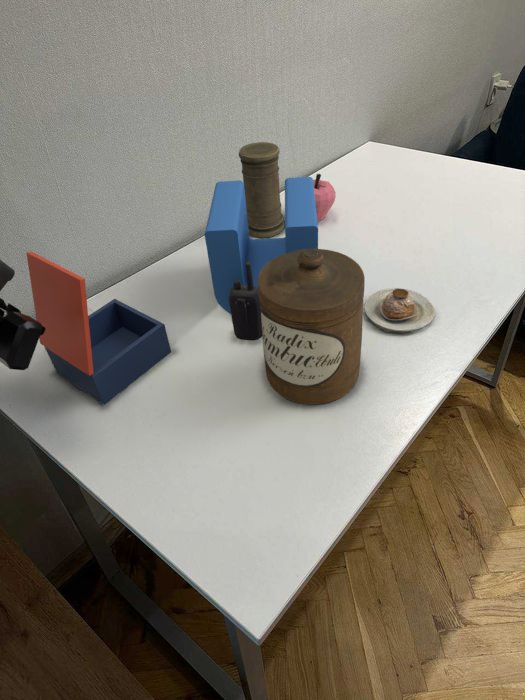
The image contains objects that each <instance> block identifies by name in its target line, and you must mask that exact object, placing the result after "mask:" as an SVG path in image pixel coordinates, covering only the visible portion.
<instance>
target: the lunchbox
mask: <svg viewBox="0 0 525 700" xmlns="http://www.w3.org/2000/svg"><path fill="white" fill-rule="evenodd" d="M88 319H89V329H90V340H91V351H92V362H93V373H94V374H92V375H90V376H89V375H87V374H86V373H84V372H83V371H81V370H80V369H78V368H77V367H75V366H74V365H72V364H70V363H69V362H67V361H66V360H64V359H63V358H61V357H60V356H58V355H57V354H55V353H54V352H52V351H51V350H49V349H48V348H46V347H44V349H45V351H46V354H47V355H48V357H49V359H50V361H51V363H52V366H53V368H54V370H55V372H56V373H57V374H58V375H59V376H61V377H63V378H64V379H65V380H67V381H68V382H70V384H72V385H74V386H75V387H77V388H78V389H80V390H82V391H83V392H84V393H86V394H87V395H89V397H92V398H93V399H95V400H96V401H98V402H99V403H100V404H102V405H103V406H105V405H107V404H108V403H109V402H111V400H113V399H115V397H117V396H118V395H120V393H122V392H123V391H125V390H126V389H127V388H128V387H130V386H131V385H132V384H133V383H135V382H136V381H137V380H138V379H140V378H141V377H142V376H143V375H145V374H146V373H147V372H149V370H151V369H152V368H154V367H155V366H156V365H157V364H158V363H160V362H161V361H163V359H165V358H166V357H167V356H169V355H170V354H171V353H172V349H171V345H170V341H169V337H168V333H167V330H166V326H165V325H166V324H165V323H163V322H161V321H160V320H158V319H156V318H154V317H152V316H150V315H147V314H146V313H144V312H142V311H140V310H138V309H136V308H134V307H132V306H130V305H128V304H126V303H124V302H122V301H120V300H118V299H117V298H113V299H112V300H110V301H109V302H106V304H104V305H102V306H100V308H98V309H96V310H95V311H93V312H92V313H90V314H88Z"/></svg>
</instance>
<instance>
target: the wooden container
mask: <svg viewBox="0 0 525 700" xmlns="http://www.w3.org/2000/svg"><path fill="white" fill-rule="evenodd" d="M365 282H366V279H365V273H364V270H363V269H362V267H361V265H360V264H359V263H358V262H357V261H356V260H355V259H353V258H351V257H350V256H348V255H346V254H344V253H341V252H338V251H335V250H330V249H324V248H318V249H303V250H297V251H292V252H288V253H285V254H283V255H280V256H278V257H276V258H274V259H272V260H271V261H269V262H268V263H267V264H266V265H265V266H264V267H263V268H262V270H261V271H260V273H259V276H258V293H259V300H260V305H261V319H262V337H261V338H262V348H263V349H262V350H263V356H264V368H265V375H266V379H267V382H268V384H269V386H270V387H271V388H272V389H273V390H274V391H275V392H276V393H277V394H278V395H279V396H281V397H282V398H284V399H286V400H289V401H291V402H293V403H298V404H304V405H321V404H322V405H323V404H327V403H331V402H334V401H336V400H339V399H341V398H343V397H344V396H346V395H347V394H349V393H350V391H351V390H352V389H353V388H354V387H355V386H356V384H357V382H358V380H359V377H360V376H359V375H360V366H361V356H362V343H363V321H364V320H363V319H364V318H363V316H364V297H365Z"/></svg>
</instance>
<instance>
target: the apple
mask: <svg viewBox="0 0 525 700" xmlns="http://www.w3.org/2000/svg"><path fill="white" fill-rule="evenodd" d="M321 177H322V174H321V173H317V174H316V176H315V179H313V184H314V194H315V204H316V213H317V222H321V221H322V220H323V219H325V217H326V216H327V214H328V212H329V211H330V210H331V209H332V207H333V205H334V203H335V201H336V196H337V195H336V190H335V188H334V185H332V184H331V183H330V181H328V180H323V179H322V180H321Z"/></svg>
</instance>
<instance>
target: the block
mask: <svg viewBox="0 0 525 700" xmlns="http://www.w3.org/2000/svg"><path fill="white" fill-rule="evenodd" d="M313 180H314V178H313V177H312V176H297V177H287V178H285V179H284V237H273V238H272V237H269V238H251V237H250V234H249V230H248V220H247V210H246V200H245V189H244V182H243V181H242V180H225V181H224V180H221V181H217V182H216V183H215V186H214V190H213V194H212V198H211V203H210V208H209V212H208V216H207V217H208V218H207V222H206V226H205V231H204V240H205V241H204V242H205V245H206V246H205V247H206V251H207V259H208V265H209V270H210V276H211V283H212V288H213V294H214V297H215V300H216V303H218V305H219V306H220V308H222V310H223V311H225V312H227V313H228V314H230V315H231V310H230V305H229V294H230V290H231V289H232V287H233V284H234V280H239V281H240V284H241V285H247V276H246V262H250V263H251V270H252V277H253V286H256V287H257V288H258V276H259V273H260V271H261V270H262V268H263V267H264V266H265V265H266V264H267V263H268V262H269V261H271V260H272V259H274V258H276V257H278V256H280V255H283V254H285V253H288V252H292V251H297V250H303V249H319V225H318V221H317V213H316V204H315V194H314V184H313Z"/></svg>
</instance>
